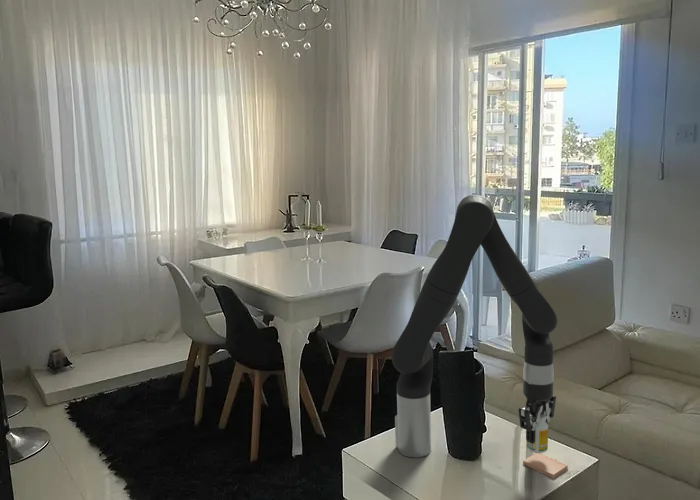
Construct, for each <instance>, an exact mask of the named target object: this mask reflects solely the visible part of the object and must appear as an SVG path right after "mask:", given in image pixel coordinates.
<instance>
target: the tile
mask: <svg viewBox="0 0 700 500" xmlns="http://www.w3.org/2000/svg"><path fill="white" fill-rule="evenodd" d="M522 464H523V465H524V466H526V467H528V468H531V469H532V470H535V471H537V472H539V473H541V474H544V475H545V476H547V477H550V478H552V479H555V478H556V477H558V476H559V475H561V474H562V473H563V472H565V471H567V470H568V467H569V466H568V464H566V463H563V462H561V461H559V460H557V459H554V458H552V457H549V456H548V455H546V454H544V453H533V454H531V455H530V456H528V457H527V458H525V459H524V460H522Z"/></svg>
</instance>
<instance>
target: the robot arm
mask: <svg viewBox="0 0 700 500" xmlns="http://www.w3.org/2000/svg"><path fill="white" fill-rule="evenodd" d="M454 215H455V216H454V220H453V221H454V222H453V224H452V228H451V231H450V234H449V237H448V239H447V242H446V245H445V247H444V249H443V250H442V252H441V253H440V254H439V256H438V258H437V259H436V260H435V261H434V264H433V265H432V266H431V268H430V270H429V272H428V274H427V276H426V278H425V281H424V283H423V285H422V287H421V289H420V293H419V295H418V296H417V299H416V301H415V304H414V307H413V309H412V312H411V314H410V317H409V319H408V322H407V324H406V326H405V328H404V330H403V331H402V332H401V334H400V336H399V338H398V340H397V341H396V342H395V344H394V346H393V348H392V352H391V361H392V365H393V367H394V369H396V371H397V372H399V373H400V375H399V378H398V379H397V382H396V403H397V404H396V407H397V408H396V411H397V412H396V413H397V414H396V415H395V416H394V429H395V430H394V432H395V433H394V434H395V436H394V437H395V447H396V448H397V449H398V450H397V451H398V452H399V453H400V454H401V455H402V456H405V457H409V458H422V457H425V456H428V455H429V454H430V453H431V452H432V442H431V441H432V440H431V439H432V431H431V428H432V427H431V426H432V425H431V423H432V422H431V421H432V420H431V385H432V381H433V374H434V373H433V371H434V351H433V347H432V343H431V342H430V341H431V339H432V337H433V335H434V334H435V332H436V331H437V329H438V328H439V327H440V325H441V324H442V323H443V321H444V320H445V319H446V318H447V316H448V314H449V313H450V311H451V310H452V308H453V306H454V305H455V302H456V301H457V298H458V297H459V294H460V292H461V291H462V287H463V285H464V282H465V281H466V278H467V275H468V272H469V269H470V267H471V266H470V265H471V264H472V261H473V258H474V256H475V255H476V253H477V251H478V250H479V247H480V246H481V247H482V249H483V251H484V252H485V254H486V256H487V258H488V260H489V263H490V264H491V267H492V268H493V270H494V272H495V275H496V277H497V279H498V280H499V282H500V284H501V285H502V287H503V288H504V289H505V291H506V293H507V295H508V296H509V297H510V299H511V300H512V301H513V302H514V304H516V306H517V307H518V308H519V310H520V311H521V313H522V314H521V323H522V331H523V332H522V333H523V338H524V339H523V340H524V363H523V370H522V371H523V373H522V393H523V395H524V396H525V398H526V402H525V406H524V407H519V408H518V415H519V416H518V418H519V425H520V428H521V429H524V430H525V440H526V443H527V442H530V443H532V444H533V443H534V442H535V427H536V423H537V422H538V421H539V418H540V415H542V414H545V415H546V421H545V422H547V424H548V425H549V423H550V421H551V419H552V418H554V415H555V408H556V400H557V396H556V395H554V377H555V376H554V375H555V373H554V371H555V370H554V345H553V343H552V340H551V338H550V333H551V332H554V330H555V329H556V327H557V325H558V316H557V314H556V312H555V310H554V308H553V306H552V305H551V304H550V303H549V302H548V300H547V299H546V298H545V296H544V295H543V294H542V292H540V290H539V288H538V286H537V285H536V283H535V282H534V280H533V278H532V276H531V275H530V273H529V272H528V270H527V269H526V267H525V266H524V264H523V263H522V261H521V260H520V258H519V256H517V254H516V252H515V251H514V249H513V248H512V246H511V244H510V243H509V242H508V239H507V238H506V237H505V234H504V233H503V230H502V229H501V226H500V224H499V222H498V219H497V217H496V214H495V212H494V209H493V204H492V203H491V202H490V201H489V200H488V199H487V198H486V197H484V195H479V194H470V195H467V196H465V197H464V198H462V199H461V200H460V201H459V202H458V205H457V207H456V211H455V214H454ZM530 415H532V416H535V418H533V417H530ZM530 420H531V421H532V425H531V421H530Z"/></svg>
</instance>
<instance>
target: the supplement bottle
mask: <svg viewBox="0 0 700 500" xmlns="http://www.w3.org/2000/svg"><path fill="white" fill-rule="evenodd" d="M530 417H533V418H535V416H532V415H530ZM530 421H531V420H530ZM545 421H546V415H545V414H542V415H540V418H539V421H538V422H537V423H536V427H535V442H534V443H533V444H532V443H530V442H527V441H526V449H527V450H529V451H530V452H531V453H533V454H535V453H541V454H544V453H546V452H547V451H548V447H549V446H548V445H549V423H548V424H547V422H545ZM531 425H532V421H531Z"/></svg>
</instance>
